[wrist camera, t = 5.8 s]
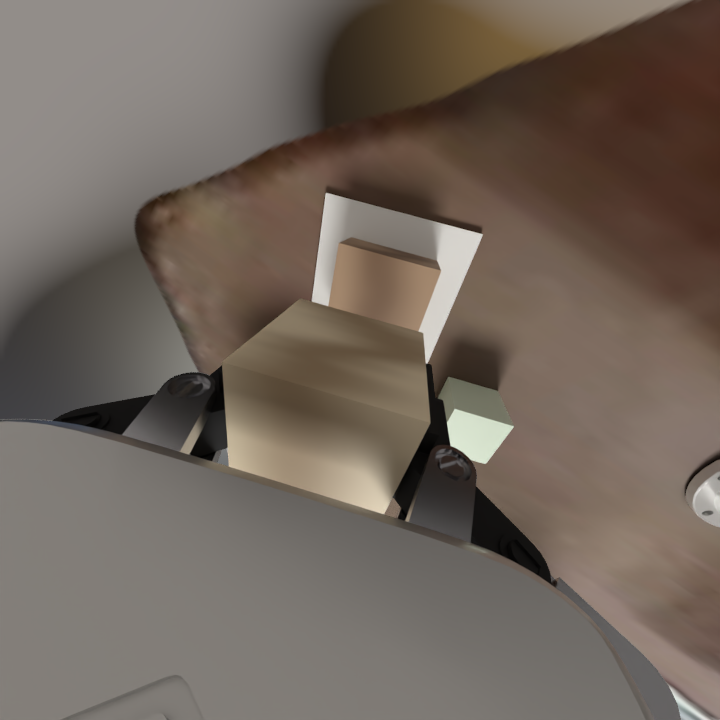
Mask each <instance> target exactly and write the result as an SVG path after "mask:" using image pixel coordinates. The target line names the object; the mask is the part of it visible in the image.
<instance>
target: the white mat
mask: <svg viewBox="0 0 720 720" xmlns="http://www.w3.org/2000/svg"><path fill="white" fill-rule="evenodd" d="M482 236H483V234H480V233H476V232H472V231H468V230H465V229H461V228H457V227H453V226H450V225H446V224H442V223H438V222H435V221H431V220H427V219H423V218H420V217H416V216H412V215H408V214H404V213H401V212H397V211H393V210H389V209H386V208H382V207H378V206H374V205H371V204H367V203H363V202H359V201H356V200H352V199H348V198H344V197H340V196H337V195H333V194H329V193H326V196H325V203H324V211H323V219H322V226H321V234H320V242H319V249H318V257H317V265H316V272H315V280H314V288H313V295H312V302H315V303H318V304H322V305H326V306H328V305H329V299H330V293H331V287H332V281H333V275H334V269H335V263H336V257H337V251H338V245H339V243H340V242H342V241H344V240H346V239H348V238H351V237H352V238H356V239H360V240H363V241H367V242H371V243H374V244H378V245H382V246H385V247H389V248H393V249H396V250H400V251H404V252H407V253H411V254H415V255H419V256H422V257H426V258H430V259H433V260H437V262H438V264H439V266H440V269H441V273H440V276H439V278H438V281H437V284H436V286H435V289H434V292H433V294H432V297H431V300H430V302H429V305H428V308H427V310H426V313H425V315H424V318H423V321H422V323H421V326H420V329H419V331H418V332H422V333H423V336H424V348H425V361H426V363H427V364H428V361H429V359H430V357H431V354H432V352H433V350H434V347H435V345H436V343H437V340H438V338H439V336H440V333H441V331H442V329H443V326H444V324H445V322H446V319H447V317H448V315H449V312H450V310H451V308H452V305H453V303H454V301H455V298H456V296H457V294H458V291H459V289H460V287H461V284H462V282H463V280H464V277H465V275H466V273H467V271H468V268H469V266H470V264H471V261H472V259H473V257H474V254H475V252H476V250H477V247H478V245H479V243H480V240H481V238H482Z"/></svg>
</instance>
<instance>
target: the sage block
mask: <svg viewBox="0 0 720 720" xmlns="http://www.w3.org/2000/svg"><path fill="white" fill-rule="evenodd" d="M438 399H442V400H443V402H444V407H445V414H446V420H447V427H448V433H449V439H450V446H452V447H454V448H457V449H458V450H460V451H462V452H463V453H464V454H465V455H466V456H467V457H469V459H470V460H473V461H477V462H480V463H483V464H486V463H487V462H488V460H489V459H490V458H491V456H492V455H493V454H494V452H495V451H496V450H497V448H498V447H499V446H500V444H501V443H502V442H503V440H504V439H505V438H506V436H507V435H508V434H509V433H510V431H511V430H512V429H513V427H514V425H513V423H512V421H511V419H510V416H509V414H508V412H507V410H506V408H505V405H504V403H503V401H502V399H501V397H500V394H499V392H498V391H496V390H493V389H489V388H486V387H482V386H479V385H476V384H472V383H469V382H465V381H462V380H458V379H455V378H451V377H448V378H447V380H446V382H445V384H444V386H443V388H442V390H441V392H440V394H439V396H438Z"/></svg>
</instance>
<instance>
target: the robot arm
mask: <svg viewBox="0 0 720 720" xmlns="http://www.w3.org/2000/svg"><path fill="white" fill-rule="evenodd" d="M426 373H427V385H428V398H429V410H430V425H429V427H428V429H427V431H426V433H425V435H424V437H423V439H422V441H421V443H420V444H419V446H418V448H417V450H416V452H415V454H414V456H413V458H412V460H411V462H410V464H409V466H408V468H407V470H406V472H405V474H404V476H403V478H402V480H401V482H400V484H399V486H398V488H397V489H396V491H395V493H394V495H393V497H392V498H394V499H395V500H396V501H397V503H398V504H399V506H400V508H399V511H398V513H397V516H396V518H394V517H391V516H387V515H384V514H381V513H378V512H375V511H371V510H368V509H365V508H362V507H359V506H355V505H352V504H349V503H346V502H343V501H339V500H336V499H333V498H330V497H326V496H323V495H320V494H317V493H313V492H310V491H307V490H304V489H300V488H297V487H294V486H291V485H287V484H284V483H281V482H278V481H274V480H271V479H268V478H265V477H261V476H258V475H255V474H251V473H248V472H245V471H242V470H238V469H235V468H232V467H228V466H225V465H222V464H218V463H217V462H218V459H219V456H220V454H221V450H222V449H225V448H228V443H227V429H226V414H225V400H224V386H223V371H222V366H221V367H220V368H218V369H217V370H216V371H215V372H213V373H212V374H211V375H207V374H204V373H200V372H197V373H196V372H190V373H183V374H180V375H176V376H174V377H172V378H170V379H169V380H168V381H166V382H165V383H164V384H163V385H162V387H161V388H160V389H159V390H158V391H157V393H156V394H154V395H149V396H144V397H138V398H133V399H127V400H122V401H116V402H111V403H106V404H100V405H95V406H89V407H84V408H80V409H76V410H73V411H70V412H68V413H65V414H63V415H61V416H59V417H58V418H56V419H54V420H53V421H47V420H33V419H4V420H3V419H0V720H681V718H680V714H679V709H678V705H677V703H676V700H675V698H674V696H673V694H672V692H671V690H670V688H669V686H668V685H667V683H666V682H665V680H664V679H663V678H662V676H661V675H660V673H659V672H658V670H657V669H656V668H655V667H654V666H653V665H652V664H651V663H650V661H649V660H648V659H647V658H646V657H645V656H644V655H643V654H642V653H641V652H640V651H639V650H638V649H637V648H635V647H634V646H633V645H632V644H631V643H630V642H629V641H628V640H627V639H626V638H625V637H624V636H622V635H621V634H620V633H619V632H618V631H617V630H616V629H615V628H614V627H613V626H612V625H611V624H609V623H608V622H607V621H606V620H605V619H604V618H603V617H602V616H601V615H600V614H599V613H598V612H597V611H595V610H594V609H593V608H592V607H591V606H590V605H589V604H588V603H587V602H586V601H585V600H584V599H582V598H581V597H580V596H579V595H578V594H577V593H576V592H575V591H574V590H573V589H572V588H571V587H569V586H568V585H567V584H566V583H565V582H564V581H563V580H562V579H561V578H560V577H559V578H557V579H556V580H555V579H554V578H553V577H552V576H551V575H550V571H549V569H548V566H547V563H546V561H545V560H544V558H543V556H542V555H541V553H540V552H539V551H538V549H537V548H536V547H535V546H534V545H533V544H532V543H531V541H530V540H529V539H528V538H527V537H526V536H525V535H524V534H523V533H522V532H521V531H520V530H519V529H518V528H517V527H516V526H515V525H514V524H513V523H512V522H511V521H510V520H509V519H508V518H507V517H506V516H505V515H504V514H503V513H502V512H501V511H500V510H499V509H498V508H497V507H496V506H495V505H494V504H493V503H492V502H491V501H490V500H489V499H488V498H487V497H486V496H485V495H484V494H483V493H482V492H481V491H480V490H479V489H478V488H477V487H476V480H477V474H476V469H475V467H474V464H473V463H472V461H471V460H470V459H469V457H467V456H466V455H465V454H464V453H463V452H462V451H460V450H458V449H457V448H454V447H452V446H450V439H449V433H448V427H447V420H446V414H445V407H444V402H443V400H442V399H438V398H435V392H434V383H433V374H432V366H431V365H430V364H427V363H426ZM686 500H687V503H688V505H689V506H690V507H691V509H692V510H693V511H694V512H695V513H696V514H697V515H698V516H699V517H700V518H701V519H703V520H704V521H705V522H708V523H710V524H712V525H714V526H717V527H720V459H719V460H717V461H715V462H713V463H711V464H710V465H708V466H707V467H705V468H704V469H702V470H701V471H700V472H699V473H698V474H697V475H695V477H694V478H693V479H692V480H691V482H690V483H689V485H688V488H687V490H686Z"/></svg>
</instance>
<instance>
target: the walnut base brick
mask: <svg viewBox="0 0 720 720" xmlns="http://www.w3.org/2000/svg"><path fill="white" fill-rule="evenodd" d="M440 273H441V269H440V266H439V264H438V262H437V260H433V259H430V258H426V257H422V256H419V255H415V254H411V253H407V252H404V251H400V250H396V249H393V248H389V247H385V246H382V245H378V244H374V243H371V242H367V241H363V240H360V239H356V238H352V237H351V238H348V239H346V240H344V241H342V242H340V243H339V245H338V251H337V257H336V263H335V269H334V275H333V281H332V287H331V293H330V299H329V305H328V306H329V307H333V308H336V309H340V310H343V311H347V312H351V313H354V314H358V315H361V316H365V317H368V318H372V319H376V320H379V321H383V322H386V323H390V324H393V325H397V326H400V327H404V328H408V329H411V330H415V331H419V329H420V326H421V323H422V321H423V318H424V315H425V313H426V310H427V308H428V305H429V302H430V300H431V297H432V294H433V292H434V289H435V286H436V284H437V281H438V278H439V276H440Z"/></svg>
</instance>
